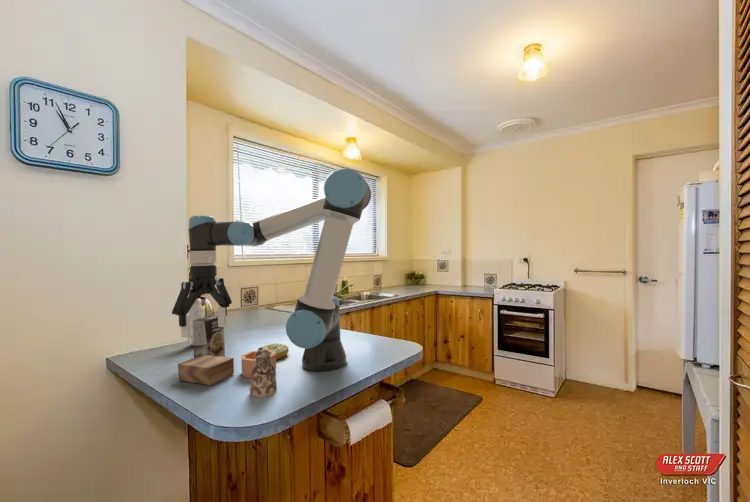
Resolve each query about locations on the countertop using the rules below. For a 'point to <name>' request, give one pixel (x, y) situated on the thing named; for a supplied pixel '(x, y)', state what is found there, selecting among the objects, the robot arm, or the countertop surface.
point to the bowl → (254, 362)
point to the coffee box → (208, 337)
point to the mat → (221, 380)
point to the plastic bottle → (195, 316)
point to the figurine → (263, 375)
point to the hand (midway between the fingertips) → (205, 331)
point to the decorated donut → (277, 350)
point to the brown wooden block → (206, 369)
